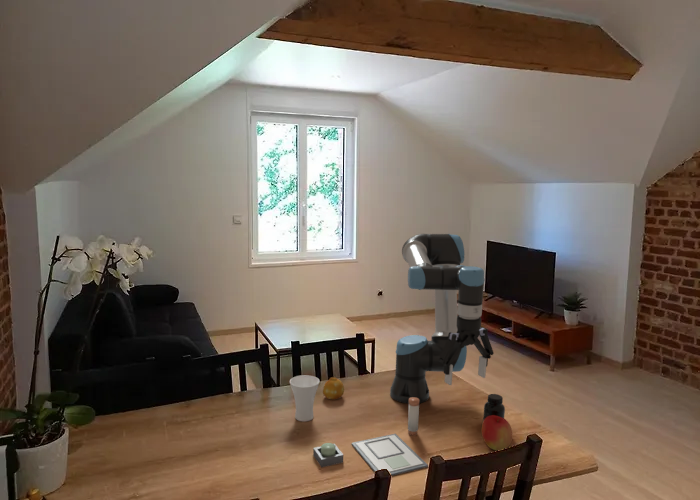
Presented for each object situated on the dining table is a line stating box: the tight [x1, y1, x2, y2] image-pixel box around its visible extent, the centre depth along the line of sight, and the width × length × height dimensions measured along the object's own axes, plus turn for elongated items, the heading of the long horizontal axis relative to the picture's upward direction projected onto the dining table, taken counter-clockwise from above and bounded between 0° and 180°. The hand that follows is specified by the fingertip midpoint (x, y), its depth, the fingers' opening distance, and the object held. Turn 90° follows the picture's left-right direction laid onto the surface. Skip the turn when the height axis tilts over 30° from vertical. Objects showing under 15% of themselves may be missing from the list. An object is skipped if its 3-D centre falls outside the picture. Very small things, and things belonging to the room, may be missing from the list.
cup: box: [289, 374, 321, 422], centre depth 183 cm, size 10×10×14 cm
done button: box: [321, 442, 337, 457], centre depth 157 cm, size 4×4×3 cm
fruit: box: [322, 376, 345, 401], centre depth 200 cm, size 8×8×8 cm
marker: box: [407, 397, 420, 437], centre depth 173 cm, size 4×4×12 cm
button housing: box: [312, 443, 344, 468], centre depth 158 cm, size 7×7×2 cm
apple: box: [481, 415, 513, 451], centre depth 165 cm, size 10×10×10 cm
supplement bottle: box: [482, 393, 506, 422], centre depth 177 cm, size 7×7×12 cm
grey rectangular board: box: [350, 433, 429, 477], centre depth 160 cm, size 20×16×1 cm
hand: (465, 379), depth 167 cm, fingers open, 13 cm apart
